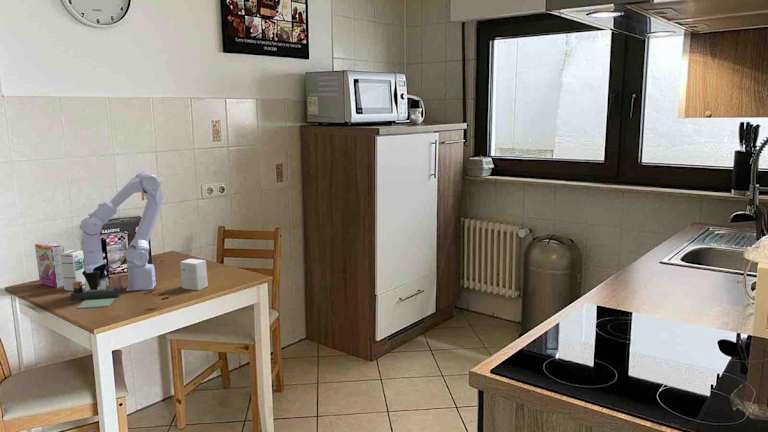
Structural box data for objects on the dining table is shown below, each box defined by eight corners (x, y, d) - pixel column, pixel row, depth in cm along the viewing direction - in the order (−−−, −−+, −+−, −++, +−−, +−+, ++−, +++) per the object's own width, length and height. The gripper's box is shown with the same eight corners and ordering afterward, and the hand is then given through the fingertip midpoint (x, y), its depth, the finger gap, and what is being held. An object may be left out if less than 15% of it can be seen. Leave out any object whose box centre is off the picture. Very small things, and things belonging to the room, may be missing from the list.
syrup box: (77, 291, 220) (73, 253, 217) (63, 290, 221) (59, 253, 219) (87, 286, 225) (83, 250, 223) (74, 285, 227) (70, 249, 224)
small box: (208, 286, 223) (206, 260, 221) (198, 290, 218) (196, 263, 216) (192, 284, 226) (190, 258, 225) (181, 288, 221) (179, 261, 220)
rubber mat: (114, 299, 209) (114, 298, 209) (108, 306, 202) (108, 305, 202) (84, 301, 207) (84, 300, 207) (77, 308, 200) (77, 307, 200)
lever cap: (108, 286, 216) (107, 276, 215) (106, 290, 212) (104, 279, 211) (88, 288, 215) (87, 277, 214) (85, 291, 211) (84, 280, 210)
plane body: (123, 291, 219) (121, 273, 217) (118, 297, 212) (117, 278, 211) (77, 294, 216) (75, 276, 214) (71, 300, 209) (69, 281, 208)
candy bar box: (39, 284, 229) (33, 244, 226) (51, 281, 233) (46, 241, 230) (56, 288, 223) (51, 247, 220) (68, 285, 228) (64, 244, 225)
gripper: (87, 246, 217) (90, 281, 219) (74, 255, 203) (78, 293, 205) (107, 245, 218) (110, 280, 221) (96, 254, 204) (100, 291, 207)
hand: (96, 286), depth 213 cm, fingers open, 7 cm apart
